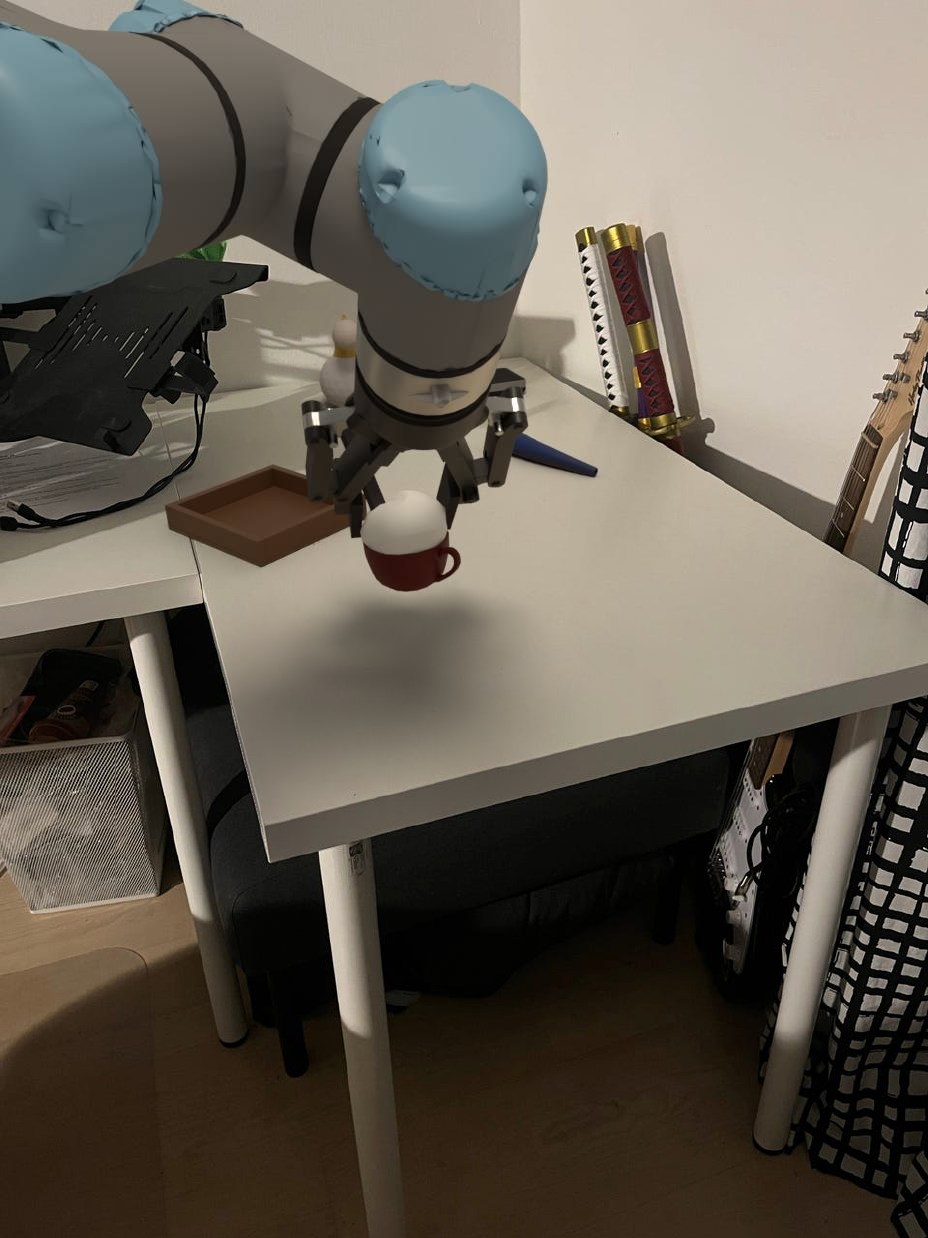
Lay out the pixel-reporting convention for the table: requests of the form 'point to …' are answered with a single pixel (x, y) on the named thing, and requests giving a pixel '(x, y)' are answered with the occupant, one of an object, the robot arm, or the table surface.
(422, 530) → the cocoa
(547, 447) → the tapered navy handle
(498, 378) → the external hard drive
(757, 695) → the table surface
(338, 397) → the white gourd-shaped figure
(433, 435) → the robot arm
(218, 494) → the tray
